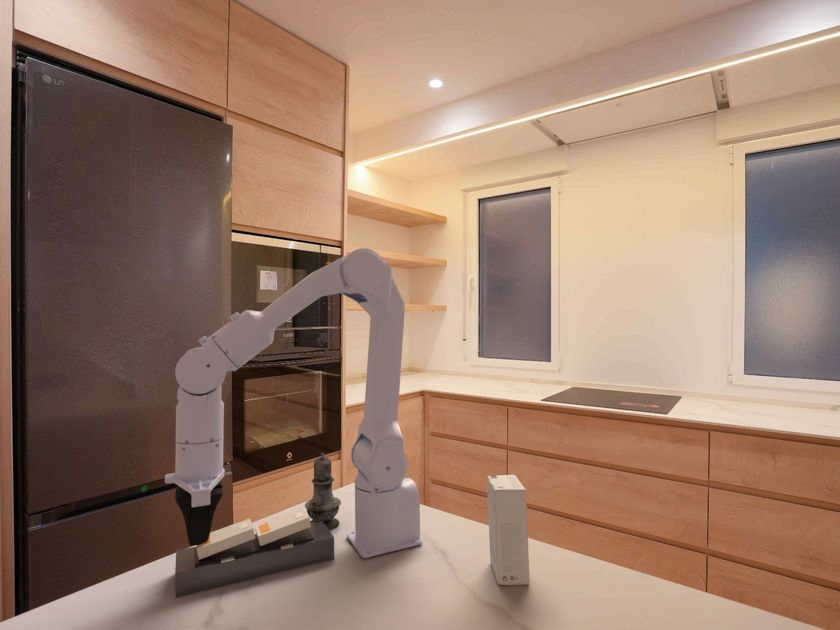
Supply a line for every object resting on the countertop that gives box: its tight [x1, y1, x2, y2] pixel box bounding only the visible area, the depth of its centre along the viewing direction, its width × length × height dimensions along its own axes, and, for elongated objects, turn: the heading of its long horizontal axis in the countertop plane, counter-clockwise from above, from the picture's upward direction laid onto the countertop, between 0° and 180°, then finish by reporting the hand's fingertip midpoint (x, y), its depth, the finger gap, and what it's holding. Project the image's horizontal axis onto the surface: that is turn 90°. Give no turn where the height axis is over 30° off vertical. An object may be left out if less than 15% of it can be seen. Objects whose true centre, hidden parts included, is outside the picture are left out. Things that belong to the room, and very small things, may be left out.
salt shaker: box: [304, 452, 342, 532], centre depth 78 cm, size 6×6×12 cm
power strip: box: [174, 521, 335, 599], centre depth 65 cm, size 20×6×3 cm, turn 116°
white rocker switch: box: [196, 518, 256, 560], centre depth 63 cm, size 7×4×2 cm, turn 117°
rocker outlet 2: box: [254, 507, 311, 546], centre depth 67 cm, size 7×4×2 cm, turn 117°
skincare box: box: [486, 474, 530, 586], centre depth 63 cm, size 6×4×12 cm
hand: (198, 542), depth 62 cm, fingers closed, pressing on white rocker switch
